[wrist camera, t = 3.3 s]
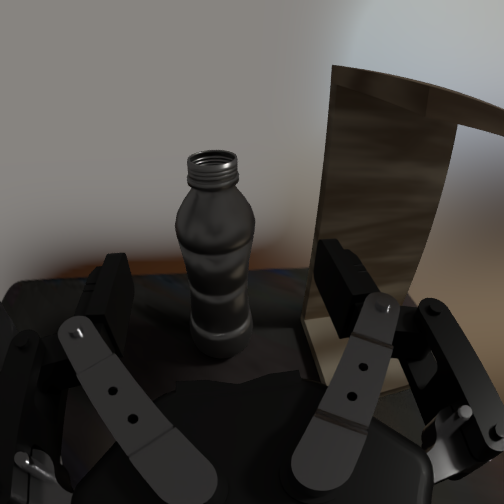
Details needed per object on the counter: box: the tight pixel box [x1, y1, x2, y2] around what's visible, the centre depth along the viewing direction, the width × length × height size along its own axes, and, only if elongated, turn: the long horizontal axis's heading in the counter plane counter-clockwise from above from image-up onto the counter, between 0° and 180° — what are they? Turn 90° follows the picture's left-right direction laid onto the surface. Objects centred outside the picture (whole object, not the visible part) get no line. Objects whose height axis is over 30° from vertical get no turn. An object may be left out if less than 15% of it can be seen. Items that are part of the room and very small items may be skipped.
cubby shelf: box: [300, 65, 504, 398], centre depth 24 cm, size 12×13×27 cm
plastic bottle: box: [175, 150, 255, 359], centre depth 27 cm, size 6×7×20 cm
